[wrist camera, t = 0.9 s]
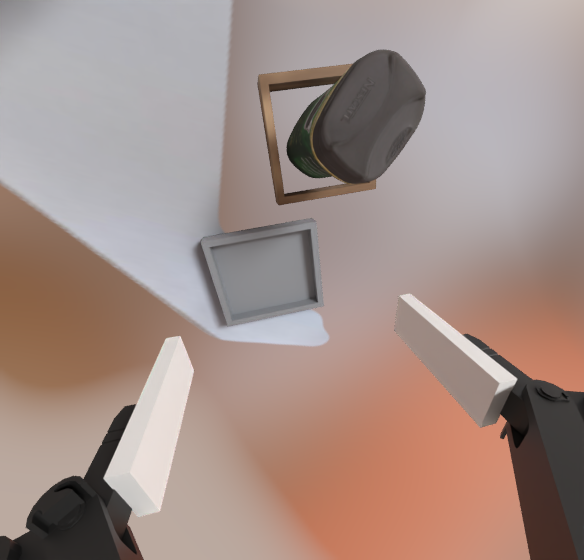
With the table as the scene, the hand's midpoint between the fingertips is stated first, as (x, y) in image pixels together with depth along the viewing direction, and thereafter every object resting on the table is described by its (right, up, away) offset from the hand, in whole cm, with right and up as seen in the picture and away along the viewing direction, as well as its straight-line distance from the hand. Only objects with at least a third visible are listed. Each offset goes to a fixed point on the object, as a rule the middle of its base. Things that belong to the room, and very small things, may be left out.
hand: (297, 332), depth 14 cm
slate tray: (-5, +5, +28) cm, 29 cm away
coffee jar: (+3, +24, +21) cm, 32 cm away
